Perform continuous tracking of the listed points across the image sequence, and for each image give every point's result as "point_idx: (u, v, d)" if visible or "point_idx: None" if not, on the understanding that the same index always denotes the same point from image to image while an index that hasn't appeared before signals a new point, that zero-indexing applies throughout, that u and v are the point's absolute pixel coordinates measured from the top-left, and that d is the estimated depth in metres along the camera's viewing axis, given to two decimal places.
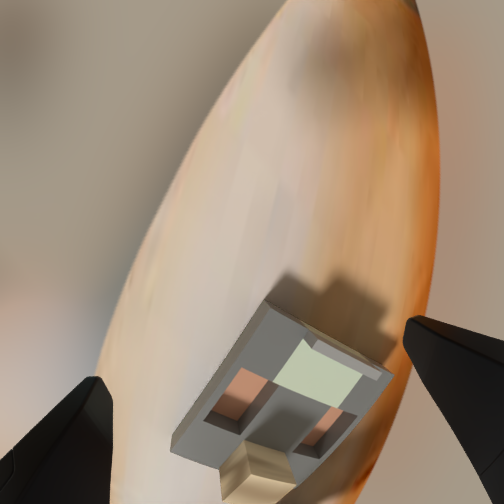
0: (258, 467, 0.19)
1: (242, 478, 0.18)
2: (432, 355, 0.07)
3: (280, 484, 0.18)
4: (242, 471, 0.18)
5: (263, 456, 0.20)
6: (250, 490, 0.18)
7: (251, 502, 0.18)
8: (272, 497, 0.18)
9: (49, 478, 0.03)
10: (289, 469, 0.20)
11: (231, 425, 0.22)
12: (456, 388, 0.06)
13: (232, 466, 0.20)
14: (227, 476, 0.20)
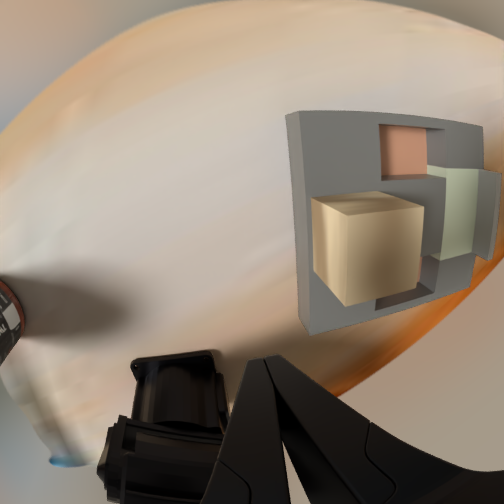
0: None
1: (403, 206, 0.13)
2: (277, 406, 0.06)
3: (414, 264, 0.13)
4: (396, 203, 0.13)
5: None
6: (392, 235, 0.13)
7: (363, 262, 0.13)
8: (385, 280, 0.13)
9: None
10: None
11: None
12: (296, 453, 0.05)
13: (359, 198, 0.15)
14: (348, 202, 0.14)
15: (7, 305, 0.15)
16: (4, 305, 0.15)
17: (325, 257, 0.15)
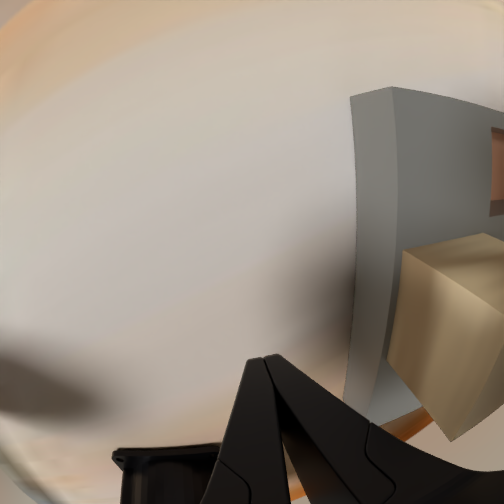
0: None
1: None
2: (277, 406, 0.06)
3: None
4: None
5: None
6: None
7: (497, 382, 0.05)
8: None
9: None
10: None
11: None
12: (296, 453, 0.05)
13: (481, 256, 0.07)
14: (476, 268, 0.06)
15: None
16: None
17: (423, 358, 0.07)
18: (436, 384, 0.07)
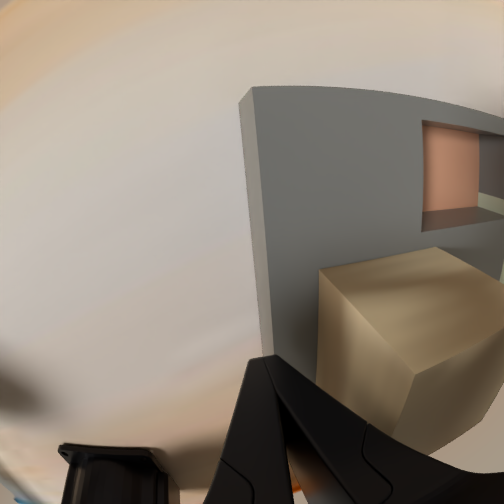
0: None
1: None
2: None
3: (492, 396, 0.05)
4: (489, 295, 0.05)
5: None
6: (482, 372, 0.05)
7: (418, 432, 0.05)
8: (443, 435, 0.05)
9: None
10: None
11: None
12: (294, 454, 0.05)
13: (416, 278, 0.07)
14: (400, 295, 0.06)
15: None
16: None
17: (340, 390, 0.07)
18: None
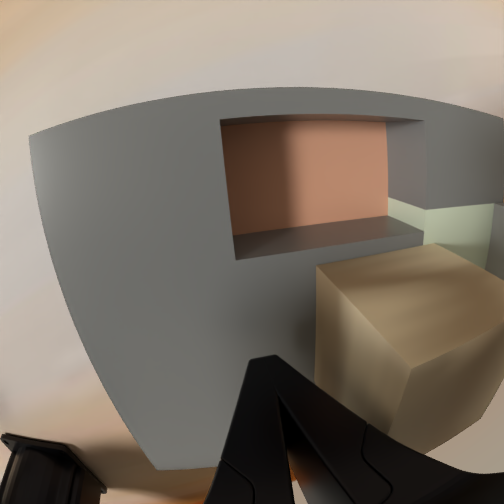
0: None
1: None
2: None
3: (491, 393, 0.05)
4: (487, 290, 0.05)
5: None
6: (480, 368, 0.05)
7: (416, 428, 0.05)
8: (442, 432, 0.05)
9: None
10: None
11: None
12: (293, 454, 0.05)
13: (414, 274, 0.07)
14: (397, 291, 0.06)
15: None
16: None
17: (338, 386, 0.07)
18: None
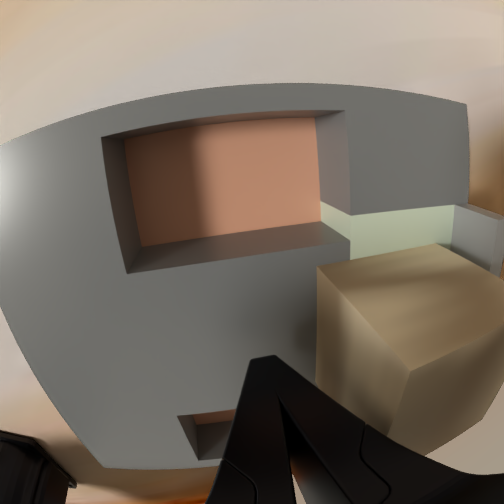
0: None
1: None
2: None
3: (493, 394, 0.05)
4: (489, 291, 0.05)
5: None
6: (481, 370, 0.05)
7: (416, 430, 0.05)
8: (443, 434, 0.05)
9: None
10: None
11: (129, 235, 0.08)
12: (292, 454, 0.05)
13: (414, 274, 0.07)
14: (398, 292, 0.06)
15: None
16: None
17: (338, 387, 0.07)
18: None
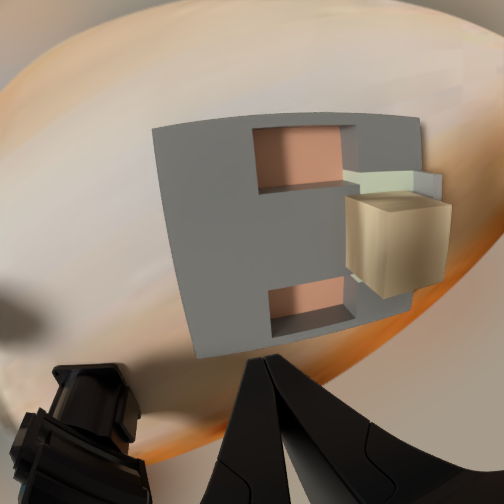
0: None
1: (433, 204, 0.13)
2: (277, 406, 0.06)
3: (443, 259, 0.14)
4: (426, 201, 0.14)
5: None
6: (425, 231, 0.13)
7: (400, 256, 0.13)
8: (418, 274, 0.14)
9: None
10: None
11: None
12: (296, 453, 0.05)
13: (391, 197, 0.15)
14: (383, 200, 0.14)
15: None
16: None
17: (361, 253, 0.15)
18: (369, 265, 0.15)
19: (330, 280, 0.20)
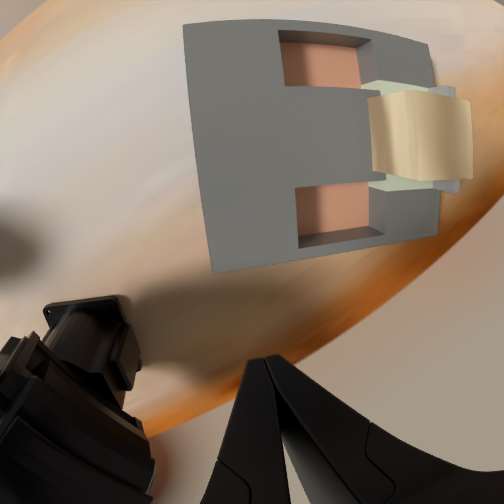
0: None
1: (452, 98, 0.11)
2: (277, 406, 0.06)
3: (469, 153, 0.12)
4: None
5: None
6: (450, 118, 0.11)
7: (431, 137, 0.11)
8: (449, 161, 0.12)
9: None
10: None
11: None
12: (296, 453, 0.05)
13: None
14: None
15: None
16: None
17: (389, 145, 0.14)
18: (399, 153, 0.13)
19: (355, 196, 0.19)
